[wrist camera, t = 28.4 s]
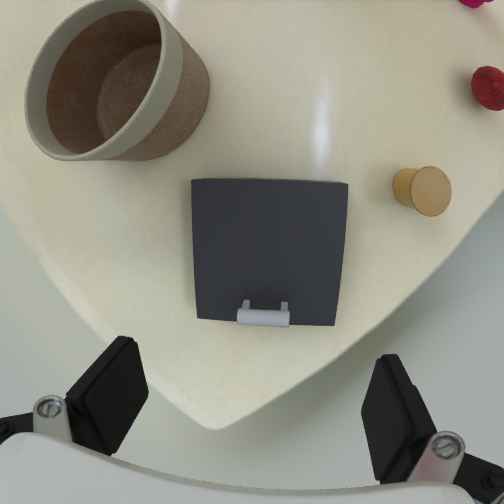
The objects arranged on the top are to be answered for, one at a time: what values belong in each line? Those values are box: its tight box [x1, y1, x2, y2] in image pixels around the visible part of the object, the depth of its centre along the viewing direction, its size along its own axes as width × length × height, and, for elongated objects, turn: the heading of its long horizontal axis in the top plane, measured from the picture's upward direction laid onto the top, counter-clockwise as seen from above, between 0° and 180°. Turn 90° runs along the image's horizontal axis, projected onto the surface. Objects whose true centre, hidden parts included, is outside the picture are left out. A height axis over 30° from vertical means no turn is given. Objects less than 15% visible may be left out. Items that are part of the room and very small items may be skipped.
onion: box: [471, 66, 504, 111], centre depth 21 cm, size 6×6×8 cm
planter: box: [24, 0, 209, 161], centre depth 24 cm, size 16×16×14 cm
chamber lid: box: [191, 179, 348, 327], centre depth 28 cm, size 16×16×5 cm
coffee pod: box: [393, 166, 451, 217], centre depth 27 cm, size 5×5×6 cm
